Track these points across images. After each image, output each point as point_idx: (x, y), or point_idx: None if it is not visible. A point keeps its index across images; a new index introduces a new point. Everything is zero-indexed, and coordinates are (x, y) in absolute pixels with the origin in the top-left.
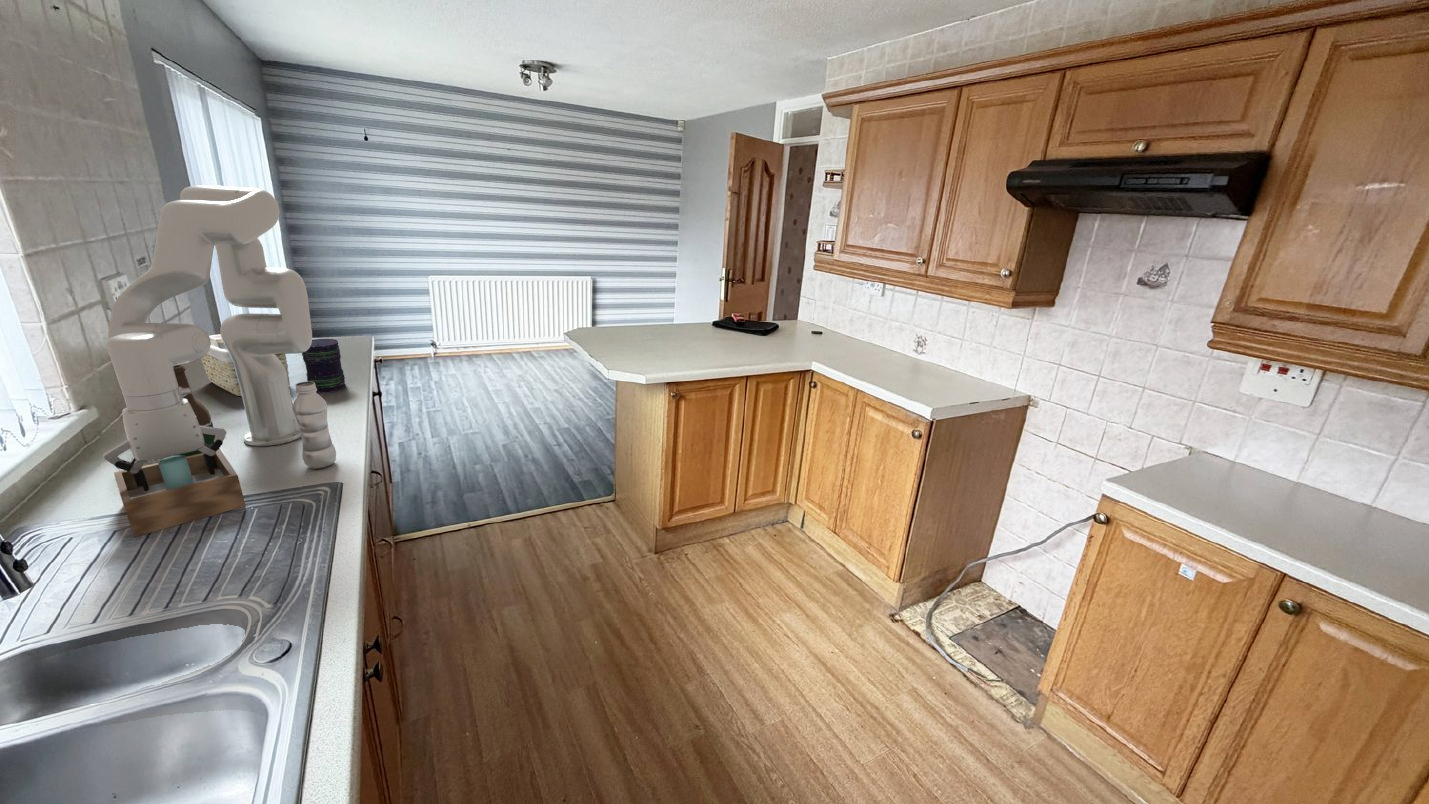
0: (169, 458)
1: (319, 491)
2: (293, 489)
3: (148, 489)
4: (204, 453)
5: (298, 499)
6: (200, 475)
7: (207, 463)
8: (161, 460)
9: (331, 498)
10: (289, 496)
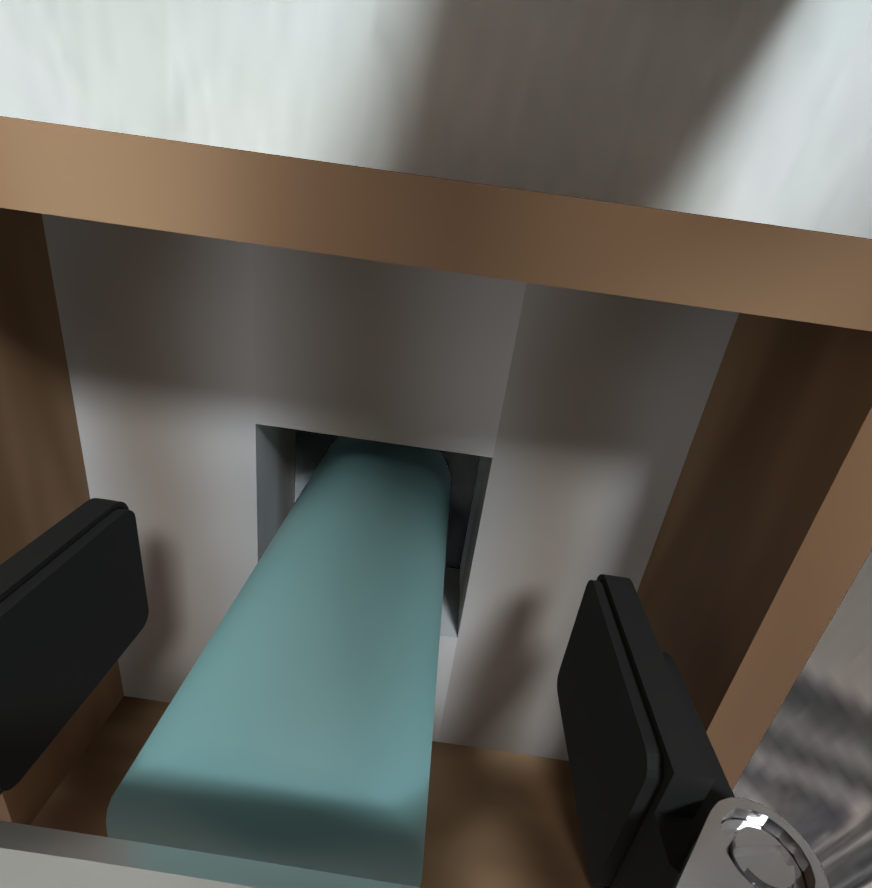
0: (239, 807)
1: (862, 800)
2: (823, 707)
3: (140, 621)
4: (653, 825)
5: (753, 799)
6: (567, 325)
7: (579, 808)
8: (144, 798)
9: (828, 873)
10: (754, 754)
